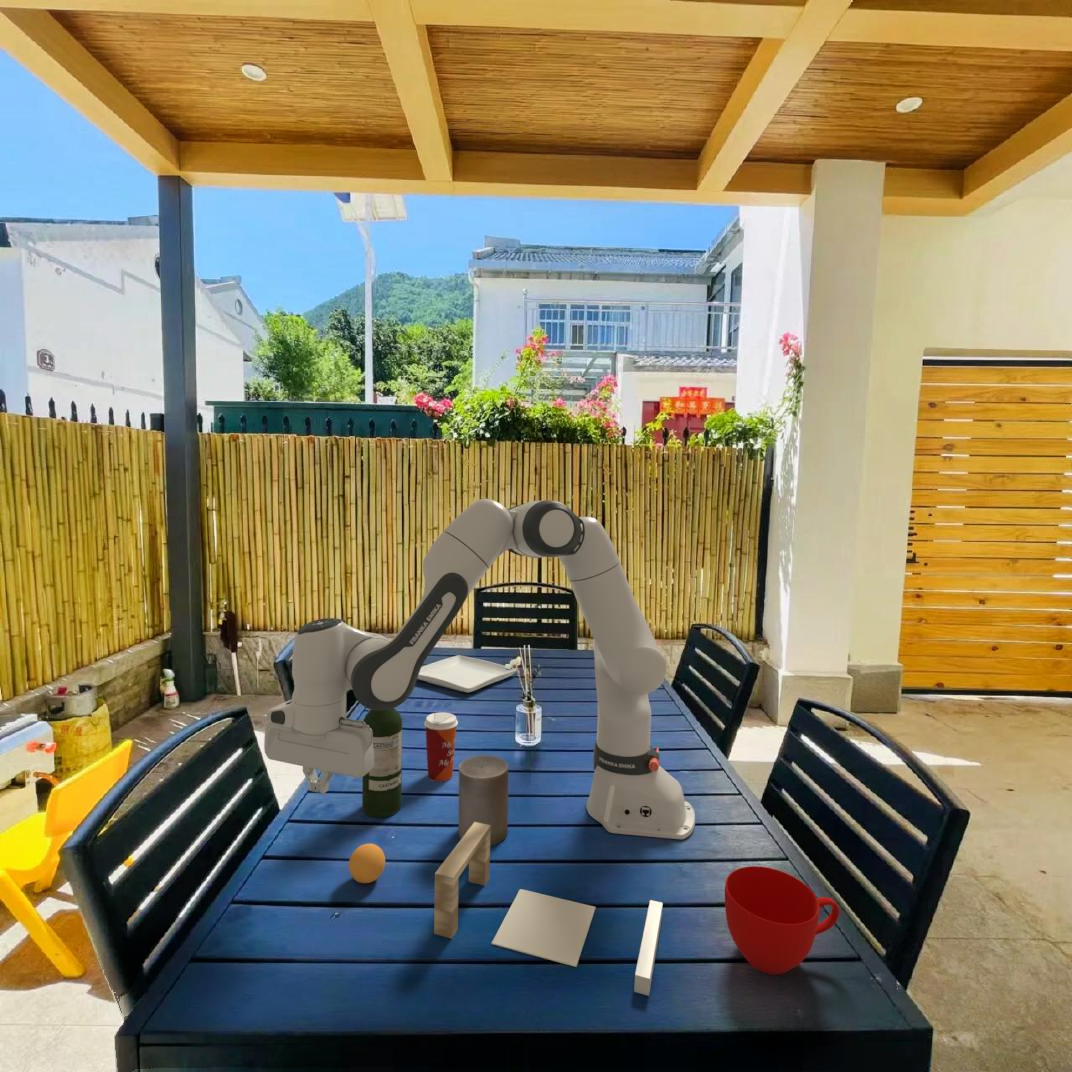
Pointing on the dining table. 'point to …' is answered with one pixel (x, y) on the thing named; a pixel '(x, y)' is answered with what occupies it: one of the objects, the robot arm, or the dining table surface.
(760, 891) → the ceramic cup
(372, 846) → the ball
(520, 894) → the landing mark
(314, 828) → the dining table surface
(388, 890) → the dining table surface
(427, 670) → the square plate
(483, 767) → the pillar candle
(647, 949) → the wall
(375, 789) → the wine bottle
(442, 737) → the paper cup
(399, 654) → the robot arm
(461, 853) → the bridge
